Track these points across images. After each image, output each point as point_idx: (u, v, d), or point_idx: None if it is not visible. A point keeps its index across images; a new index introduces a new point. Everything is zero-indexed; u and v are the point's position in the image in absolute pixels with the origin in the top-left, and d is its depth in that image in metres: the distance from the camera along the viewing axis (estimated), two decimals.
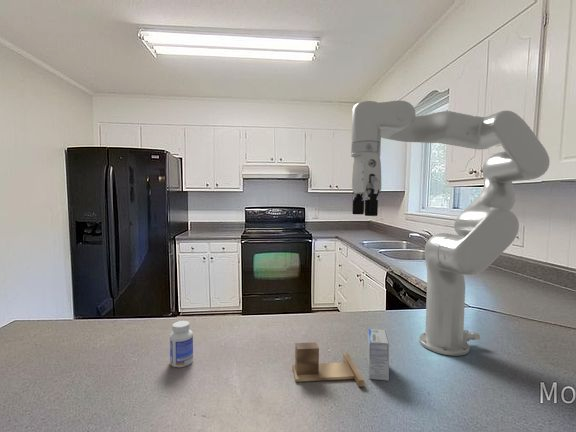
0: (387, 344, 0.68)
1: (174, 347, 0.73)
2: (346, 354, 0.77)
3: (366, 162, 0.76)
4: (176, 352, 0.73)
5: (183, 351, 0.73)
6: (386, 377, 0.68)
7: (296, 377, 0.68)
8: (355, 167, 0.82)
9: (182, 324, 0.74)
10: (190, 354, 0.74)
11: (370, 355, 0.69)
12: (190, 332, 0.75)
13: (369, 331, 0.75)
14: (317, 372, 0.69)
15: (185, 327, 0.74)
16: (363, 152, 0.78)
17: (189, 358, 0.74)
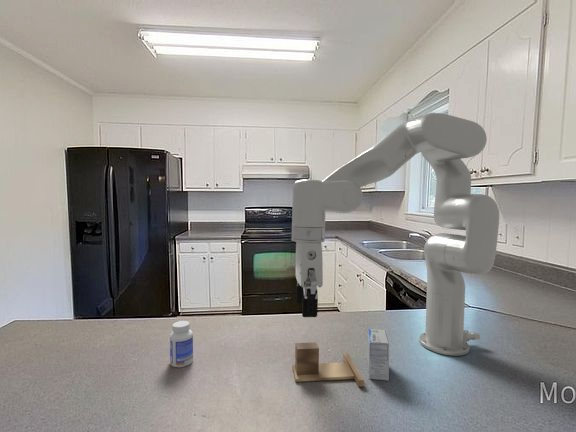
0: (387, 344, 0.68)
1: (174, 347, 0.73)
2: (346, 354, 0.77)
3: (304, 254, 0.65)
4: (176, 352, 0.73)
5: (183, 351, 0.73)
6: (386, 377, 0.68)
7: (296, 377, 0.68)
8: (296, 253, 0.70)
9: (182, 324, 0.74)
10: (190, 354, 0.74)
11: (370, 355, 0.69)
12: (190, 332, 0.75)
13: (369, 331, 0.75)
14: (317, 372, 0.69)
15: (185, 327, 0.74)
16: (302, 240, 0.66)
17: (189, 358, 0.74)
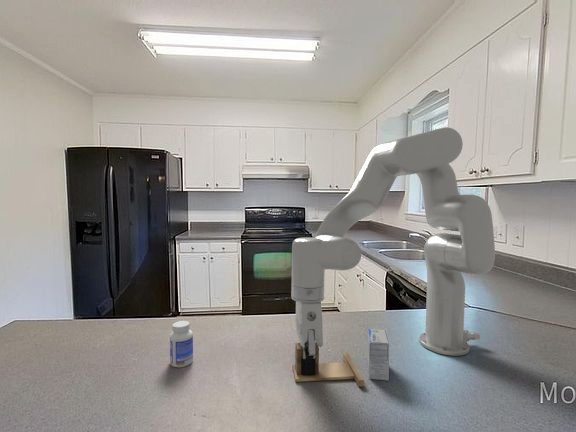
0: (387, 344, 0.68)
1: (174, 347, 0.73)
2: (346, 354, 0.77)
3: (304, 315, 0.65)
4: (176, 352, 0.73)
5: (183, 351, 0.73)
6: (386, 377, 0.68)
7: (296, 377, 0.68)
8: (296, 310, 0.70)
9: (182, 324, 0.74)
10: (190, 354, 0.74)
11: (370, 355, 0.69)
12: (190, 332, 0.75)
13: (369, 331, 0.75)
14: (317, 372, 0.69)
15: (185, 327, 0.74)
16: (302, 301, 0.66)
17: (189, 358, 0.74)
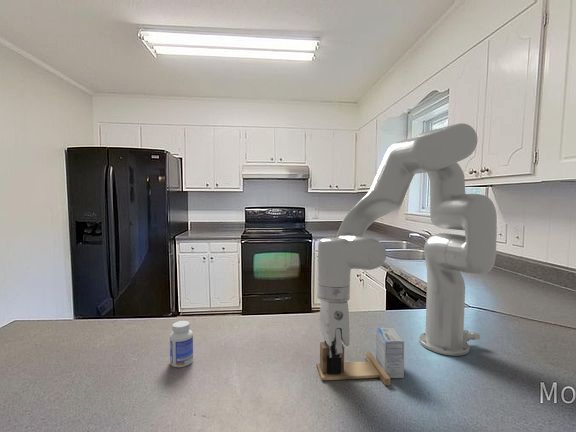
0: (402, 342, 0.69)
1: (174, 347, 0.73)
2: (369, 353, 0.78)
3: (331, 314, 0.66)
4: (176, 352, 0.73)
5: (183, 351, 0.73)
6: (402, 374, 0.69)
7: (322, 376, 0.69)
8: (321, 309, 0.71)
9: (182, 324, 0.74)
10: (190, 354, 0.74)
11: (386, 354, 0.69)
12: (190, 332, 0.75)
13: (379, 330, 0.75)
14: (342, 371, 0.70)
15: (185, 327, 0.74)
16: (329, 300, 0.67)
17: (189, 358, 0.74)
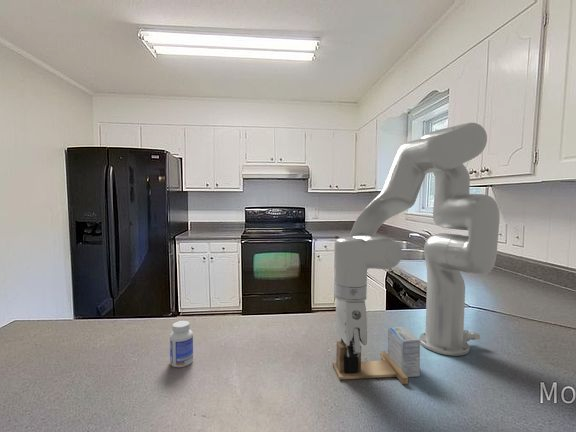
0: (418, 341, 0.70)
1: (174, 347, 0.73)
2: (384, 352, 0.78)
3: (349, 313, 0.66)
4: (176, 352, 0.73)
5: (183, 351, 0.73)
6: (418, 373, 0.70)
7: (339, 375, 0.69)
8: (338, 308, 0.71)
9: (182, 324, 0.74)
10: (190, 354, 0.74)
11: (403, 354, 0.69)
12: (190, 332, 0.75)
13: (392, 330, 0.75)
14: (359, 370, 0.70)
15: (185, 327, 0.74)
16: (346, 300, 0.67)
17: (189, 358, 0.74)
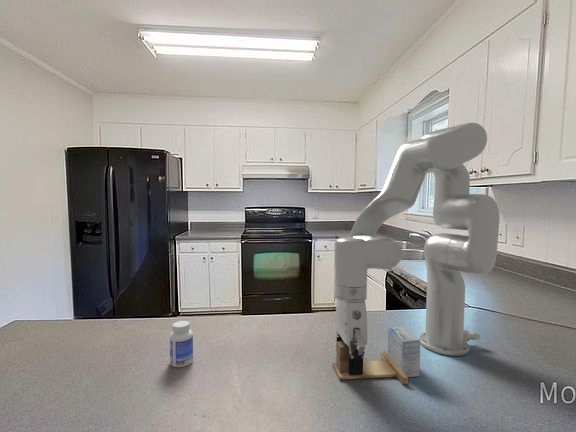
0: (418, 341, 0.70)
1: (174, 347, 0.73)
2: (384, 352, 0.78)
3: (350, 314, 0.66)
4: (176, 352, 0.73)
5: (183, 351, 0.73)
6: (418, 373, 0.70)
7: (339, 375, 0.69)
8: (338, 308, 0.71)
9: (182, 324, 0.74)
10: (190, 354, 0.74)
11: (403, 354, 0.69)
12: (190, 332, 0.75)
13: (392, 330, 0.75)
14: None
15: (185, 327, 0.74)
16: (346, 300, 0.67)
17: (189, 358, 0.74)
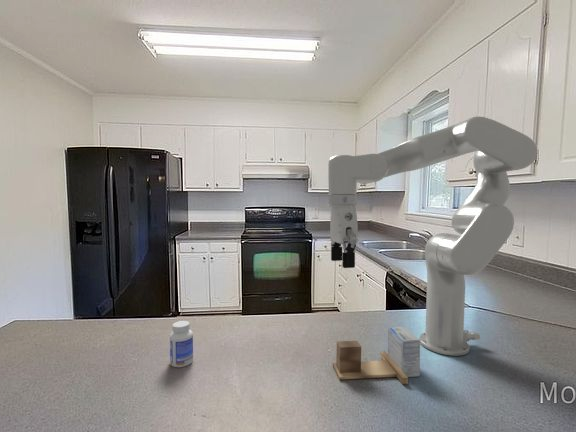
0: (418, 341, 0.70)
1: (174, 347, 0.73)
2: (384, 352, 0.78)
3: (343, 216, 0.78)
4: (176, 352, 0.73)
5: (183, 351, 0.73)
6: (418, 373, 0.70)
7: (339, 375, 0.69)
8: (332, 217, 0.83)
9: (182, 324, 0.74)
10: (190, 354, 0.74)
11: (403, 354, 0.69)
12: (190, 332, 0.75)
13: (392, 330, 0.75)
14: (359, 370, 0.70)
15: (185, 327, 0.74)
16: (340, 205, 0.79)
17: (189, 358, 0.74)
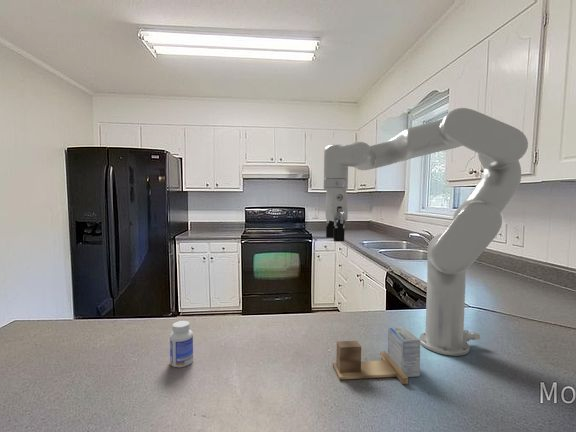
0: (418, 341, 0.70)
1: (174, 347, 0.73)
2: (384, 352, 0.78)
3: (334, 196, 0.91)
4: (176, 352, 0.73)
5: (183, 351, 0.73)
6: (418, 373, 0.70)
7: (339, 375, 0.69)
8: (327, 199, 0.96)
9: (182, 324, 0.74)
10: (190, 354, 0.74)
11: (403, 354, 0.69)
12: (190, 332, 0.75)
13: (392, 330, 0.75)
14: (359, 370, 0.70)
15: (185, 327, 0.74)
16: (332, 188, 0.92)
17: (189, 358, 0.74)
